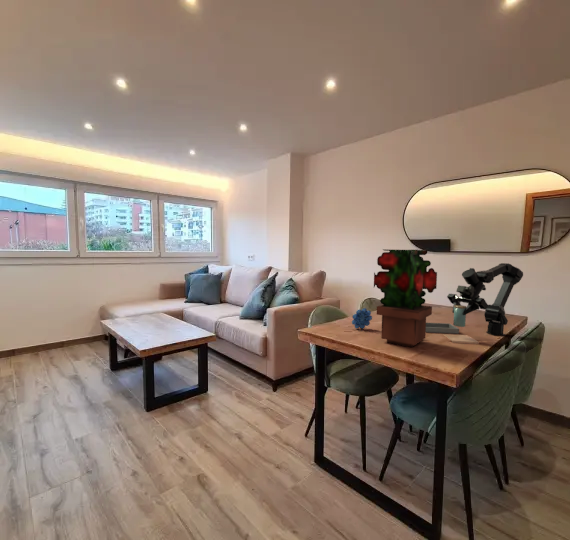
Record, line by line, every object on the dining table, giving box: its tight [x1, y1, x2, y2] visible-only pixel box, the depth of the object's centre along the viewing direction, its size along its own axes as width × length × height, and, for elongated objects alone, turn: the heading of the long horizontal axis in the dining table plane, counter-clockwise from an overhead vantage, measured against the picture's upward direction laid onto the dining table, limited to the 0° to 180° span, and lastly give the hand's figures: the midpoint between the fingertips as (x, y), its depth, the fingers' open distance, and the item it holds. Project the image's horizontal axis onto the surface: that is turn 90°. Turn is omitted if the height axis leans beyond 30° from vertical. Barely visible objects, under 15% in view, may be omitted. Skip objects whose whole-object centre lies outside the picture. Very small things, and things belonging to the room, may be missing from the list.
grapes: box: [351, 307, 373, 330], centre depth 170 cm, size 12×7×12 cm, turn 93°
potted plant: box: [373, 248, 438, 348], centre depth 144 cm, size 22×22×45 cm
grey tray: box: [426, 322, 460, 335], centre depth 166 cm, size 18×12×4 cm, turn 83°
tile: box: [442, 333, 480, 345], centre depth 150 cm, size 12×12×1 cm
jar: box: [452, 304, 467, 328], centre depth 150 cm, size 5×5×10 cm
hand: (458, 313), depth 150 cm, fingers closed on jar, 5 cm apart
